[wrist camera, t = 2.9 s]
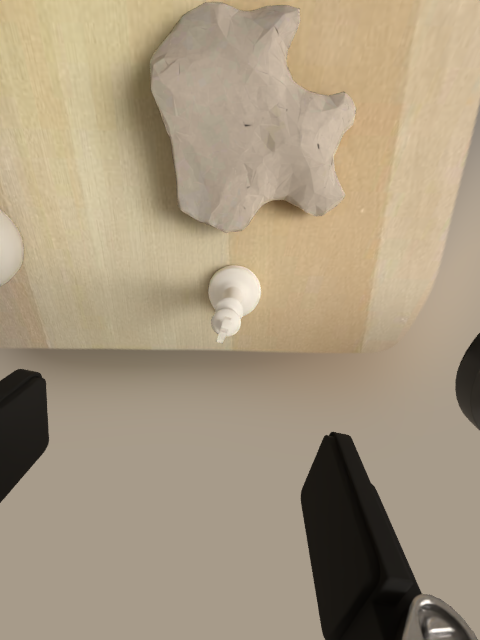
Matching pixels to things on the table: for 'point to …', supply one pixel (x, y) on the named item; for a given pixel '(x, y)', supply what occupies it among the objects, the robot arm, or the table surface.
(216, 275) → the chess piece
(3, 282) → the ball
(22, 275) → the table surface
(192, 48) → the stone
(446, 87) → the table surface
